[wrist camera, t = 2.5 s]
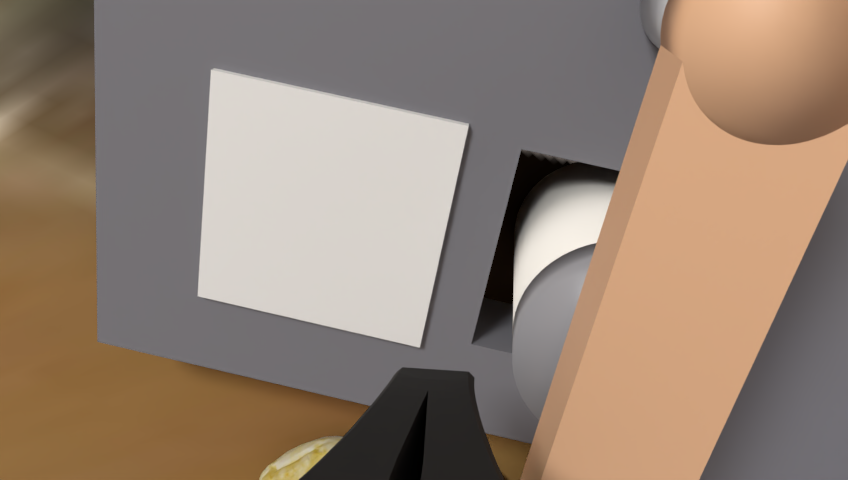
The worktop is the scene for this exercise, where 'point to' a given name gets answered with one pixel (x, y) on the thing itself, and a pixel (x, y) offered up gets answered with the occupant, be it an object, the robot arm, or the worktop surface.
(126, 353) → the worktop surface
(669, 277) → the tan long bar
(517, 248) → the plug
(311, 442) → the bread roll
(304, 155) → the socket panel
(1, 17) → the worktop surface
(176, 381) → the worktop surface
